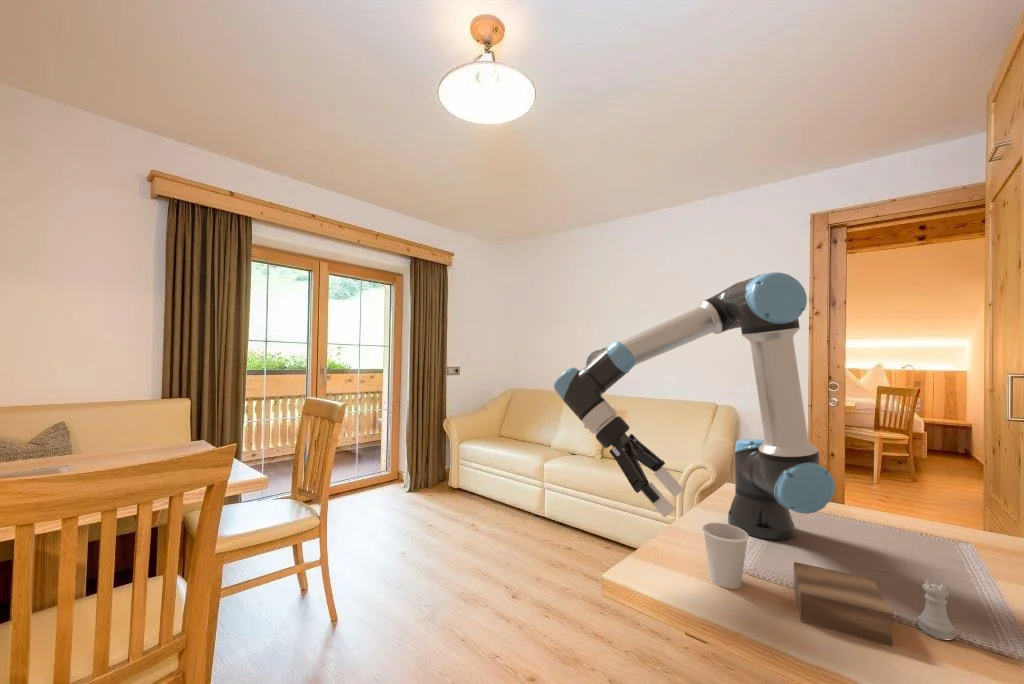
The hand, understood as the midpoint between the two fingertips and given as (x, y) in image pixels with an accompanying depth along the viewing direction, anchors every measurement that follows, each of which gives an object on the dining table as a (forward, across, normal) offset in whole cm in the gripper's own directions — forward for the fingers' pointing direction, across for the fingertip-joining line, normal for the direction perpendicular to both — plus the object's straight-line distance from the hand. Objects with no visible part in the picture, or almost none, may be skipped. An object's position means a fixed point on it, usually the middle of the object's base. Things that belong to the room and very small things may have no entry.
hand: (675, 502), depth 90 cm
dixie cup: (+17, 0, -3) cm, 17 cm away
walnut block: (+29, +2, +10) cm, 31 cm away
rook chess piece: (+39, 0, +19) cm, 43 cm away
